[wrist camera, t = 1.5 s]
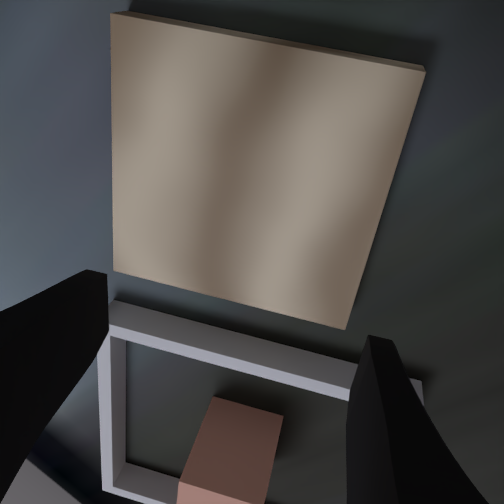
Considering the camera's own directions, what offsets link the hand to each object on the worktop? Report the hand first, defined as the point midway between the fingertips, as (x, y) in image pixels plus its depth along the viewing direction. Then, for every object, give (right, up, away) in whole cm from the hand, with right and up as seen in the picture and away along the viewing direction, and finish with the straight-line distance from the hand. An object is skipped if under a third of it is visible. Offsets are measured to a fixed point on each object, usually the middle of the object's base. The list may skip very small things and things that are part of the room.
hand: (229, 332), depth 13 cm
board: (0, +6, +9) cm, 11 cm away
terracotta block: (0, -9, +18) cm, 20 cm away
